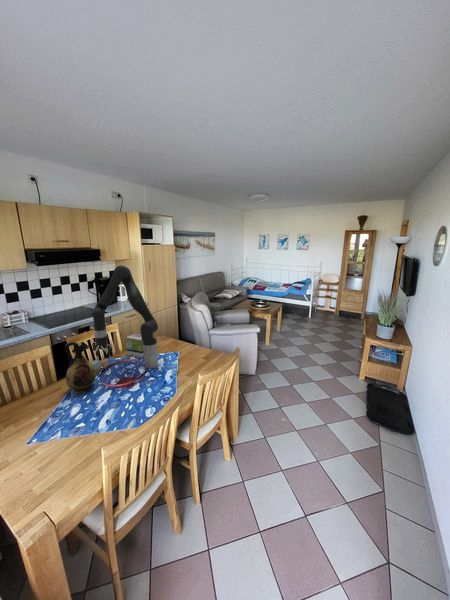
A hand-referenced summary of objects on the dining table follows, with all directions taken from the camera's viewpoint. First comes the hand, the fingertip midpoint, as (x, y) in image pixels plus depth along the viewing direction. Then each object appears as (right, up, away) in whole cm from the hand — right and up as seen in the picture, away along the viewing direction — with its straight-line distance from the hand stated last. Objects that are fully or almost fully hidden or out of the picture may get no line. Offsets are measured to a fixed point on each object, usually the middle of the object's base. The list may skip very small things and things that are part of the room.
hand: (103, 357), depth 171 cm
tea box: (+17, -3, +22) cm, 28 cm away
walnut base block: (-1, -9, -7) cm, 11 cm away
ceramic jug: (-1, -13, -25) cm, 28 cm away
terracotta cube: (0, -7, +1) cm, 8 cm away
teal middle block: (-1, -5, -7) cm, 9 cm away
